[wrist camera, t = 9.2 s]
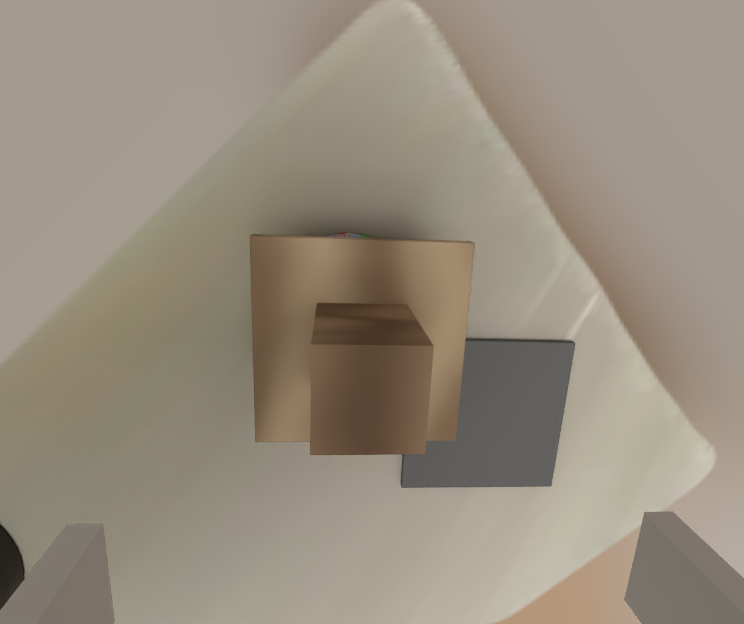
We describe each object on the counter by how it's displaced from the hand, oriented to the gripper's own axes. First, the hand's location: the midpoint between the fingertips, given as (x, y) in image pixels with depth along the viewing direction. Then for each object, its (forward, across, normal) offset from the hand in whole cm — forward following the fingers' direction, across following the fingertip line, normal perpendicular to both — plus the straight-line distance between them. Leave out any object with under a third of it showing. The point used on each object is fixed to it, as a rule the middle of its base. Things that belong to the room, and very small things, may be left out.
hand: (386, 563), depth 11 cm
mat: (+27, +12, -10) cm, 31 cm away
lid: (+16, 0, 0) cm, 16 cm away
